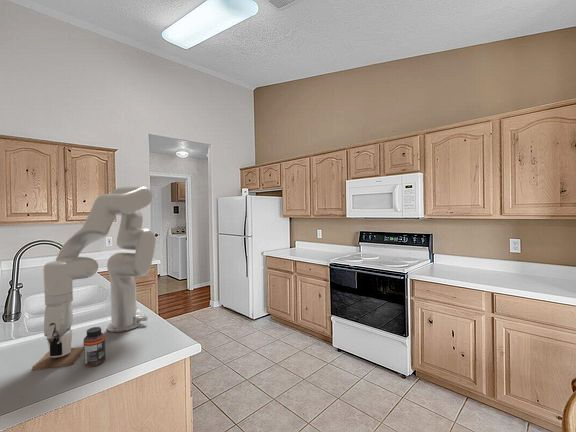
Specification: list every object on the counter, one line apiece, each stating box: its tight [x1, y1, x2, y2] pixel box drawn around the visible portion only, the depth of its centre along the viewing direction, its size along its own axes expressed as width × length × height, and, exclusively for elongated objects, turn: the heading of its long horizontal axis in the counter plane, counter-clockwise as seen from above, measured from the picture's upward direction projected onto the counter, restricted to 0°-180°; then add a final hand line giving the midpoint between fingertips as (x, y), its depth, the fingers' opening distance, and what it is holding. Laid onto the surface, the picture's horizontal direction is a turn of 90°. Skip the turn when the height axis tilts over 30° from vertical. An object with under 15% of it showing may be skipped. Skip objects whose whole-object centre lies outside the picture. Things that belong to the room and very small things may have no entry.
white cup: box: [47, 328, 73, 358], centre depth 101 cm, size 7×7×7 cm
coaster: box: [32, 346, 84, 371], centre depth 101 cm, size 11×11×1 cm
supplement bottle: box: [83, 326, 106, 368], centre depth 98 cm, size 6×6×11 cm
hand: (61, 349), depth 101 cm, fingers closed on white cup, 6 cm apart
